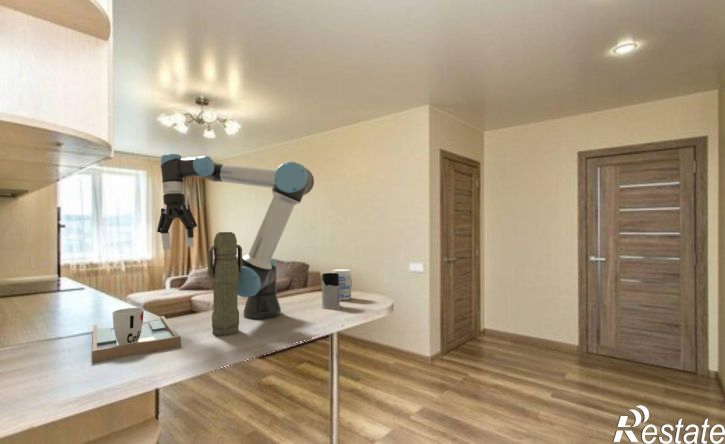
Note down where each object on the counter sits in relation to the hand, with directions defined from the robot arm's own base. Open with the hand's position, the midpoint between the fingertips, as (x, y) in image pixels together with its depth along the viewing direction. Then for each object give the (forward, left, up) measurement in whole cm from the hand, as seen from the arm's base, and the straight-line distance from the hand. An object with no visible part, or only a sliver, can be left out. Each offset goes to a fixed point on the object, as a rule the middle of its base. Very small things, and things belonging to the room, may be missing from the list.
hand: (178, 248), depth 141 cm
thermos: (-27, +3, -29) cm, 40 cm away
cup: (-11, +27, -28) cm, 40 cm away
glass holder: (-44, -48, -29) cm, 71 cm away
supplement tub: (-38, -65, -29) cm, 81 cm away
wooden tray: (-4, +20, -29) cm, 35 cm away
